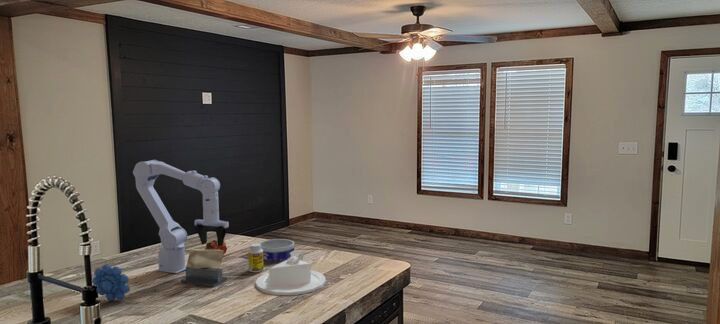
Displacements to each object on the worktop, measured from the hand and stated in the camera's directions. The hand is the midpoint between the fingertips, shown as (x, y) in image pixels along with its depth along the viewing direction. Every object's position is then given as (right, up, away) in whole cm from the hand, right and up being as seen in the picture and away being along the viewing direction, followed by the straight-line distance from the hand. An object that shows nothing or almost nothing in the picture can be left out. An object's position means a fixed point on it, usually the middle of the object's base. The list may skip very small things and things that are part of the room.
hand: (212, 244), depth 180 cm
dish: (+32, -12, -11) cm, 36 cm away
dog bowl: (+21, -9, +20) cm, 30 cm away
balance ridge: (0, -11, -11) cm, 16 cm away
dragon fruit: (-4, -9, +19) cm, 21 cm away
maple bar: (0, -6, -11) cm, 13 cm away
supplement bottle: (+16, -11, +2) cm, 20 cm away
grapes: (-23, -13, -30) cm, 40 cm away
